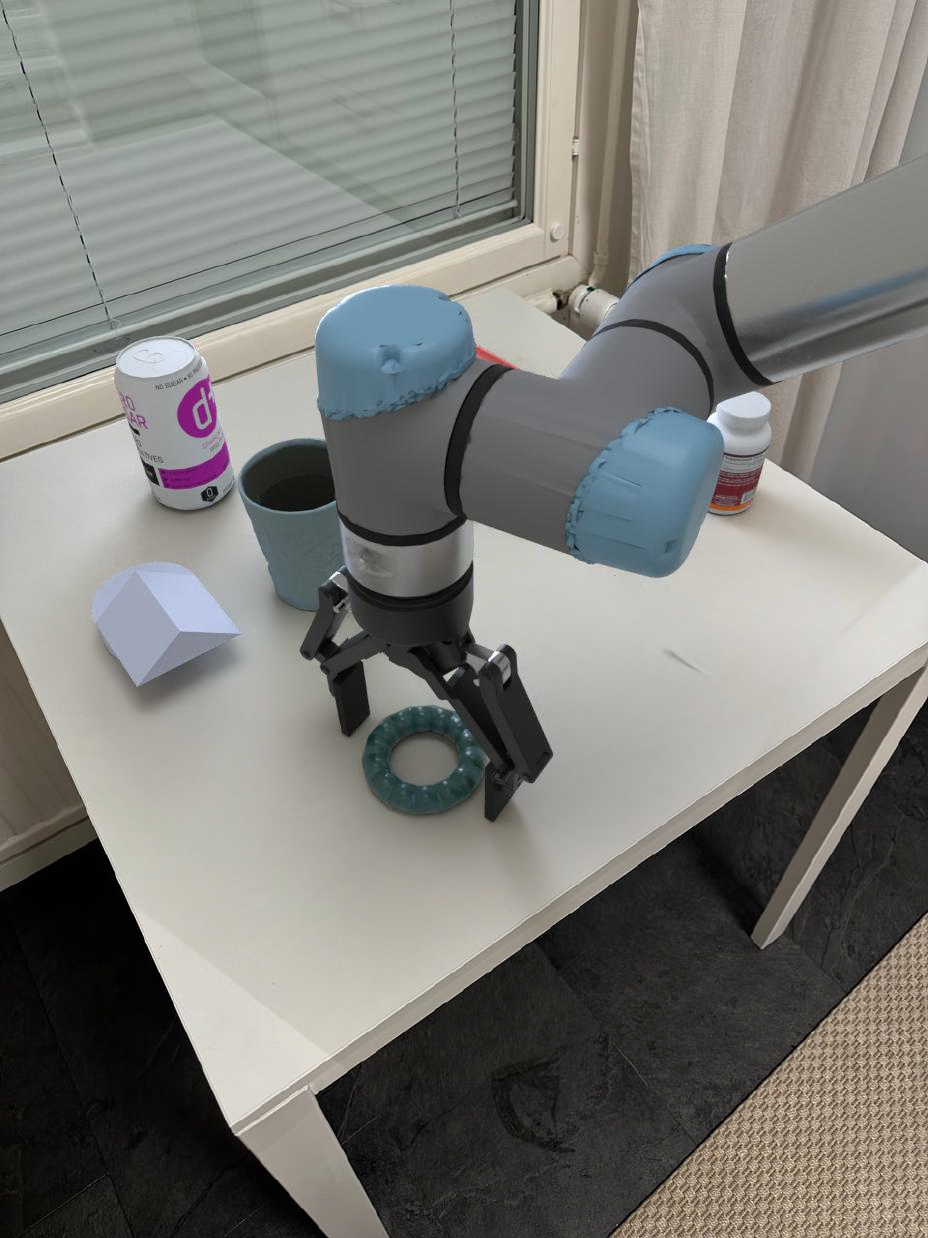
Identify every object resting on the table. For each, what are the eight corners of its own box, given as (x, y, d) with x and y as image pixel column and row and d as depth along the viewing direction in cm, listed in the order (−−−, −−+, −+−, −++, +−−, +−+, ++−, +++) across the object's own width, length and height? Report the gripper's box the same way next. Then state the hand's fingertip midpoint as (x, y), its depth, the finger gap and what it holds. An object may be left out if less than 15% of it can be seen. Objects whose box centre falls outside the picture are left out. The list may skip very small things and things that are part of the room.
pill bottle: (686, 476, 91) (707, 381, 83) (748, 478, 91) (774, 384, 83) (691, 515, 87) (714, 420, 79) (756, 518, 86) (785, 423, 78)
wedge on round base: (249, 660, 75) (182, 574, 82) (233, 605, 70) (163, 519, 77) (148, 713, 71) (87, 618, 78) (124, 658, 66) (61, 563, 73)
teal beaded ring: (508, 750, 69) (509, 734, 67) (438, 841, 63) (437, 827, 62) (412, 697, 72) (411, 681, 71) (338, 780, 67) (335, 765, 65)
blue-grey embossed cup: (381, 607, 79) (369, 502, 70) (266, 626, 78) (239, 522, 69) (365, 533, 86) (352, 429, 77) (259, 549, 84) (233, 445, 75)
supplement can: (251, 474, 92) (220, 343, 81) (203, 523, 87) (163, 389, 76) (187, 455, 94) (148, 325, 83) (137, 501, 89) (89, 369, 78)
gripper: (210, 516, 55) (269, 723, 70) (561, 694, 45) (539, 887, 61) (292, 454, 59) (331, 662, 74) (629, 604, 49) (592, 807, 65)
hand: (424, 763), depth 68 cm, fingers open, 13 cm apart
